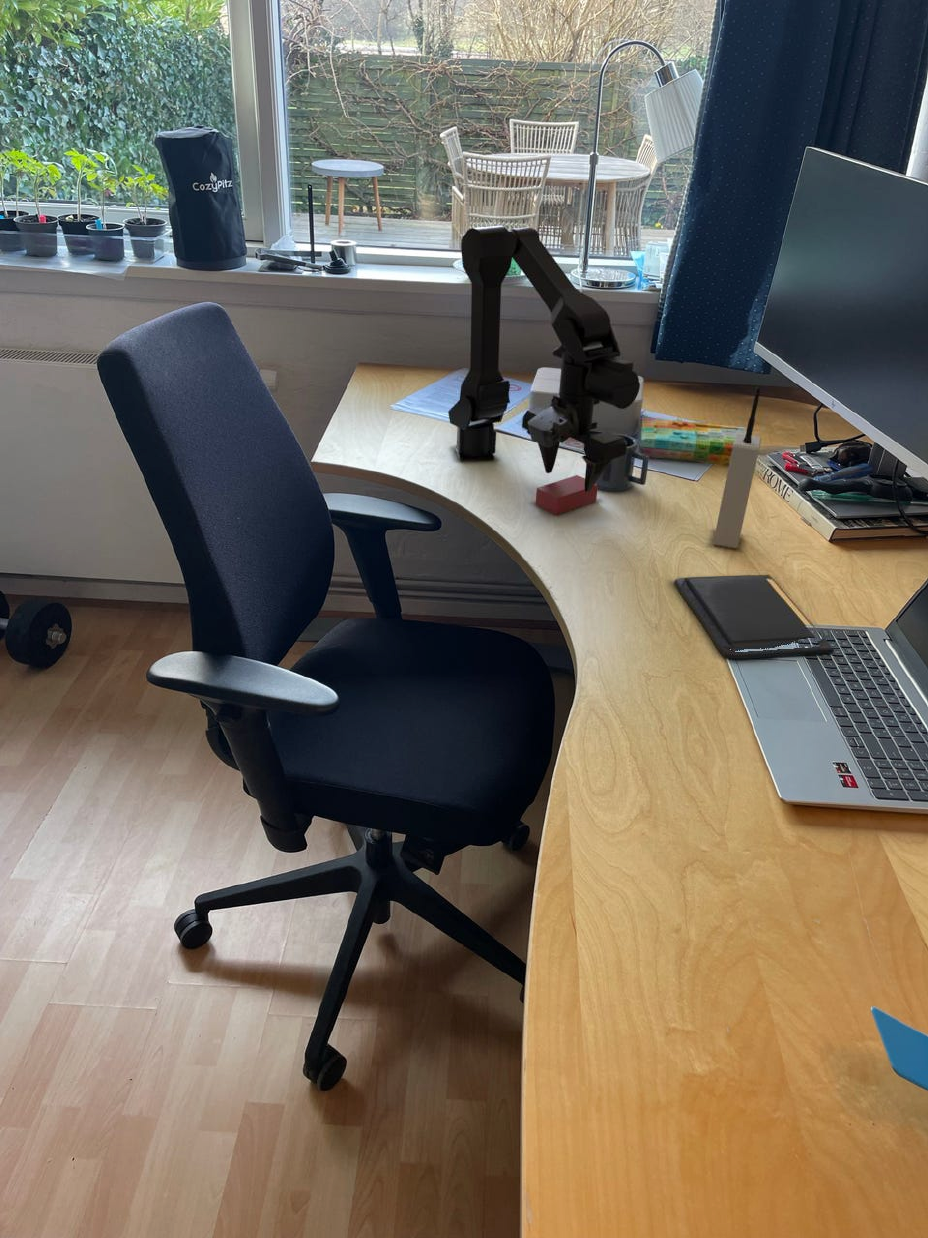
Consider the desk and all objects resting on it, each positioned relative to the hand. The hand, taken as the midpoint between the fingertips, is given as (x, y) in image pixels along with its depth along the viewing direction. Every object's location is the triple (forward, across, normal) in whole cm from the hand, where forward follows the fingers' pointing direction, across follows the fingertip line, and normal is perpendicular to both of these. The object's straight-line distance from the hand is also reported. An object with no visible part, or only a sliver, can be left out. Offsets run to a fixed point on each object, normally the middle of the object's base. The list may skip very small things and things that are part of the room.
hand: (567, 481), depth 153 cm
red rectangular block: (+4, 0, 0) cm, 4 cm away
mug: (+4, 0, +13) cm, 13 cm away
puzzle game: (+4, -2, +36) cm, 36 cm away
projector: (+4, -27, +32) cm, 42 cm away
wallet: (+4, +41, -5) cm, 42 cm away
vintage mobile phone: (+4, +25, +11) cm, 28 cm away
